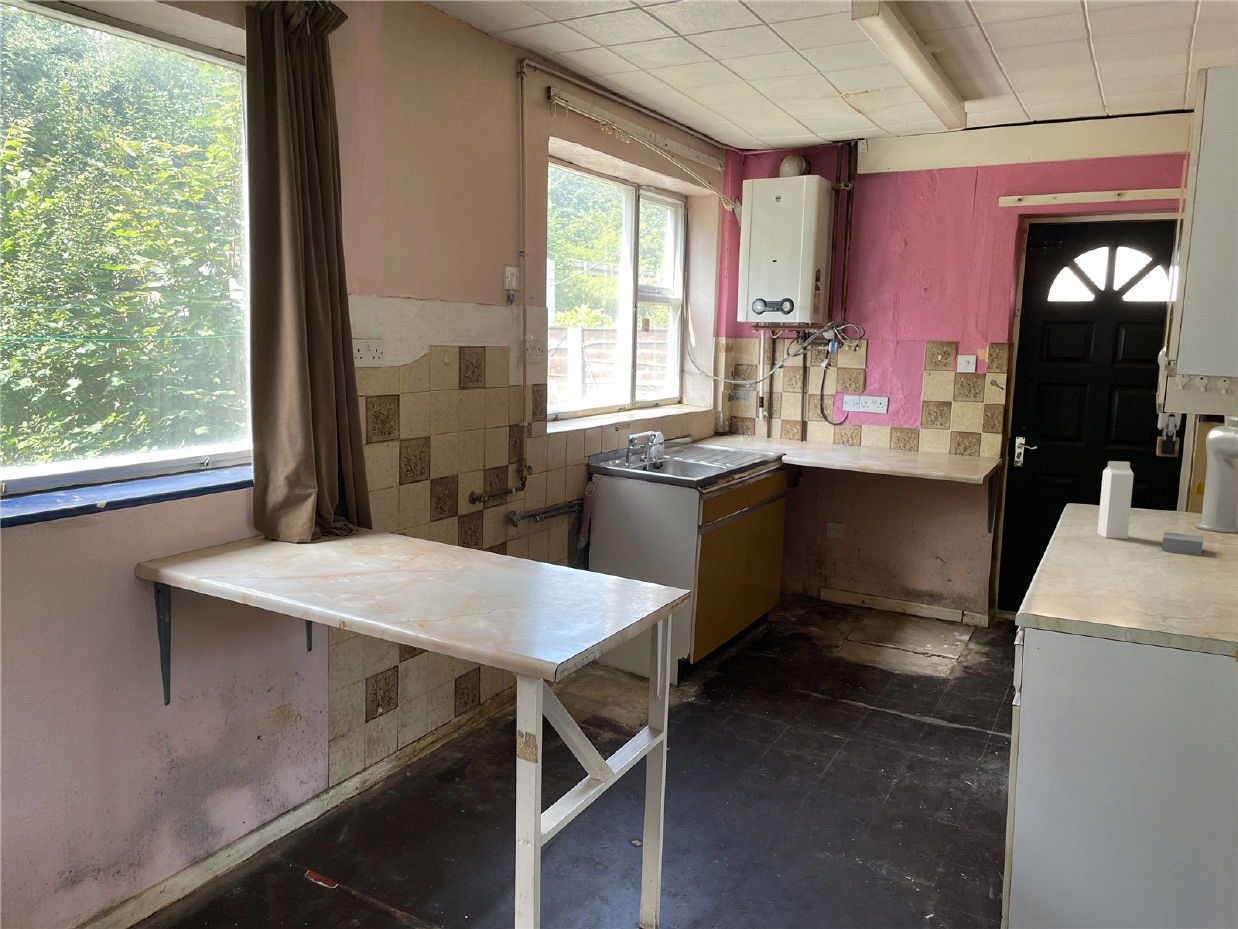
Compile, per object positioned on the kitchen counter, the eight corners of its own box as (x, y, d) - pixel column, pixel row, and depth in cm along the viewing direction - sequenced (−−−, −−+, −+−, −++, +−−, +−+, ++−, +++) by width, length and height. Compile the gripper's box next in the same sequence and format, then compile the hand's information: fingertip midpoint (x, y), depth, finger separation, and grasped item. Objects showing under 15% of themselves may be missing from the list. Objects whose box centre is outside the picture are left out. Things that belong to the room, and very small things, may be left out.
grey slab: (1201, 550, 239) (1203, 536, 239) (1201, 556, 232) (1202, 542, 231) (1163, 546, 244) (1164, 532, 244) (1161, 552, 237) (1163, 537, 236)
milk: (1127, 539, 251) (1135, 463, 248) (1105, 538, 252) (1113, 462, 249) (1118, 534, 257) (1125, 460, 254) (1096, 533, 258) (1103, 459, 255)
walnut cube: (1176, 455, 251) (1178, 437, 250) (1177, 456, 247) (1179, 439, 246) (1156, 453, 253) (1157, 436, 253) (1157, 455, 249) (1158, 438, 248)
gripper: (1156, 388, 257) (1150, 449, 259) (1159, 390, 242) (1152, 455, 244) (1186, 389, 253) (1180, 451, 255) (1191, 391, 238) (1184, 457, 241)
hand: (1167, 452), depth 250 cm, fingers closed on walnut cube, 5 cm apart
